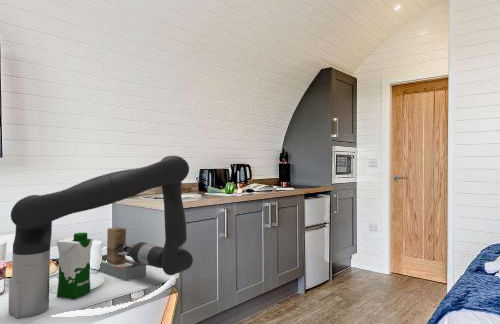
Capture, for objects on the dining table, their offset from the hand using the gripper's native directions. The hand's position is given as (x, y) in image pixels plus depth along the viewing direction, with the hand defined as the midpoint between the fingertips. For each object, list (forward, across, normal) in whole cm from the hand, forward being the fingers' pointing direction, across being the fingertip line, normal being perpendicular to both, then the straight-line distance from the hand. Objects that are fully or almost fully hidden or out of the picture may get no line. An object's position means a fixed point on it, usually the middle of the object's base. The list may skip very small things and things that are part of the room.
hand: (120, 246), depth 139 cm
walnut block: (+2, 0, +7) cm, 7 cm away
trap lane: (+2, 0, +10) cm, 10 cm away
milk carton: (-10, +23, +10) cm, 27 cm away
